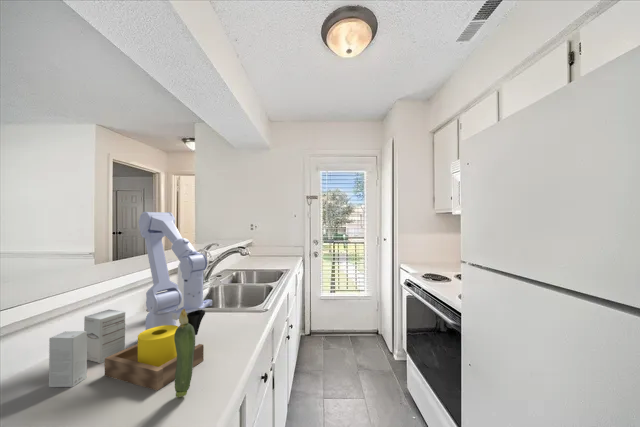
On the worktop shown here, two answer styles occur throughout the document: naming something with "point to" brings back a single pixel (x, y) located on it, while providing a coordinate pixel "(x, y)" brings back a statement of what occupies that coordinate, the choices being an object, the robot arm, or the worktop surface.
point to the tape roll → (157, 345)
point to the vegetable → (184, 354)
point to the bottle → (181, 286)
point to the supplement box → (104, 334)
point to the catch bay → (144, 368)
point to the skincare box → (67, 358)
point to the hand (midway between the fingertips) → (193, 334)
